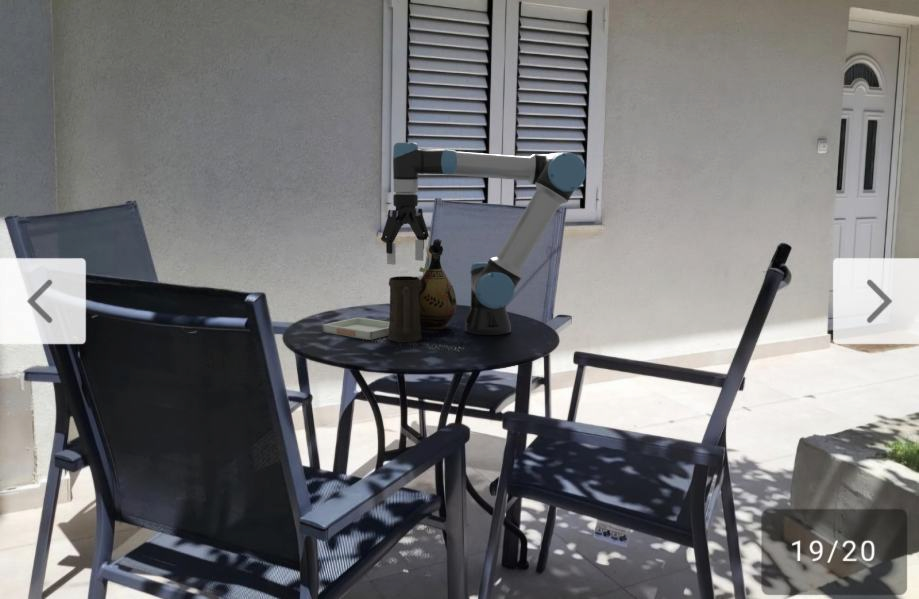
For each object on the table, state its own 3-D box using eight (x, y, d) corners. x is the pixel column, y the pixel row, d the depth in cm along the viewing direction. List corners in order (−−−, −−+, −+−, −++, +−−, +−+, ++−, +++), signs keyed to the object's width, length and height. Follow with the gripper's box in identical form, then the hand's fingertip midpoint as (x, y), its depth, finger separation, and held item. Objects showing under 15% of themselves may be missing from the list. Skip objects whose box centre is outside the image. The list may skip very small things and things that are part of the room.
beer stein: (384, 335, 274) (384, 275, 269) (416, 334, 277) (417, 274, 273) (394, 349, 260) (395, 285, 255) (428, 346, 263) (429, 283, 258)
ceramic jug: (456, 331, 282) (456, 241, 277) (410, 331, 281) (409, 241, 277) (456, 322, 298) (456, 237, 294) (412, 322, 298) (412, 237, 293)
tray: (358, 324, 294) (358, 317, 293) (404, 331, 281) (404, 324, 281) (322, 332, 280) (322, 324, 279) (369, 340, 268) (369, 332, 267)
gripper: (421, 192, 272) (421, 258, 276) (369, 194, 252) (369, 264, 256) (440, 192, 268) (439, 259, 271) (388, 194, 248) (388, 266, 251)
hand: (405, 262), depth 264 cm, fingers open, 13 cm apart
